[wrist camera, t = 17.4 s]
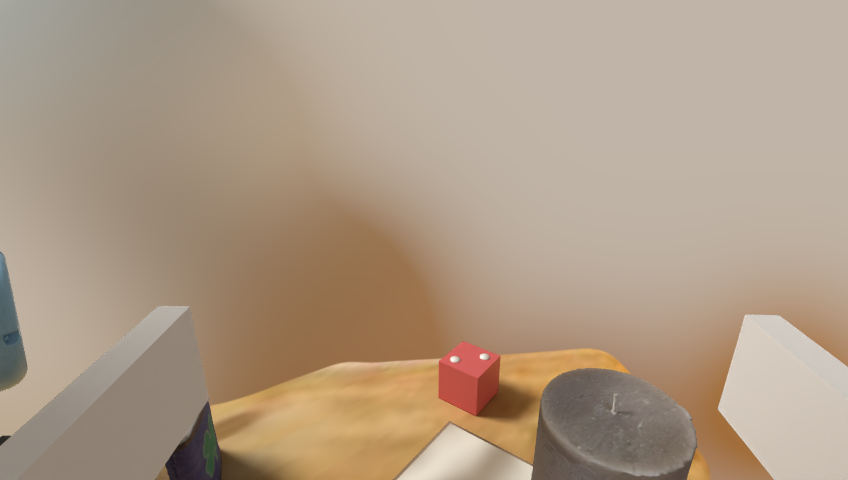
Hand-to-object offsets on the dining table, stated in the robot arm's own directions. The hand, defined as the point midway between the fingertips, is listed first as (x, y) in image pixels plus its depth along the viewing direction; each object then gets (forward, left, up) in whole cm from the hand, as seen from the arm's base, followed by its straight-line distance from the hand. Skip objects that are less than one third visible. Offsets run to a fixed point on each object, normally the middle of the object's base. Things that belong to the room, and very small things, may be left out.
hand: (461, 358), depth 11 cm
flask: (-30, +5, -30) cm, 43 cm away
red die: (-17, +30, -29) cm, 45 cm away
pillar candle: (0, +19, -29) cm, 34 cm away
